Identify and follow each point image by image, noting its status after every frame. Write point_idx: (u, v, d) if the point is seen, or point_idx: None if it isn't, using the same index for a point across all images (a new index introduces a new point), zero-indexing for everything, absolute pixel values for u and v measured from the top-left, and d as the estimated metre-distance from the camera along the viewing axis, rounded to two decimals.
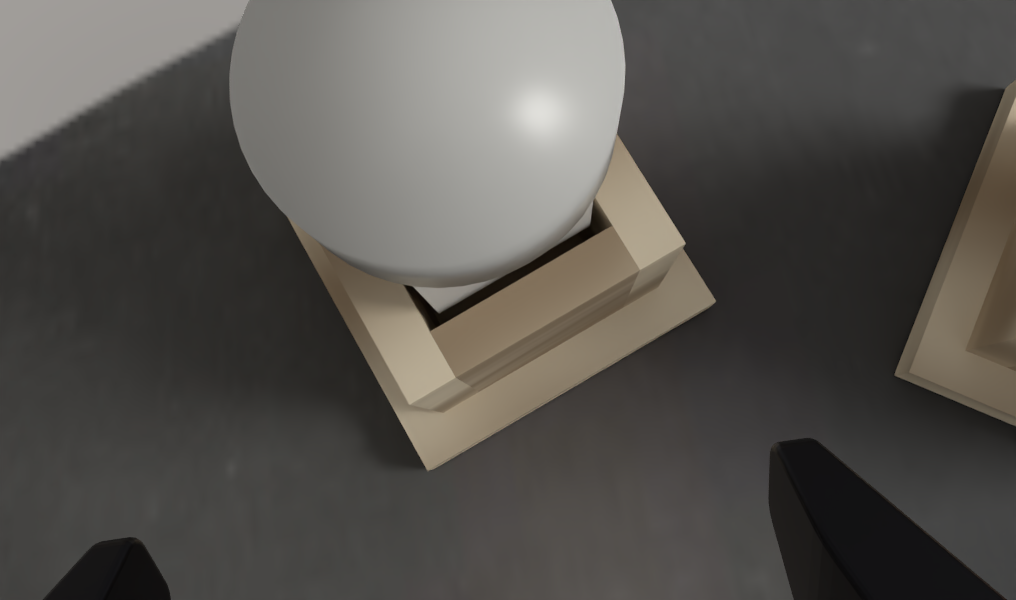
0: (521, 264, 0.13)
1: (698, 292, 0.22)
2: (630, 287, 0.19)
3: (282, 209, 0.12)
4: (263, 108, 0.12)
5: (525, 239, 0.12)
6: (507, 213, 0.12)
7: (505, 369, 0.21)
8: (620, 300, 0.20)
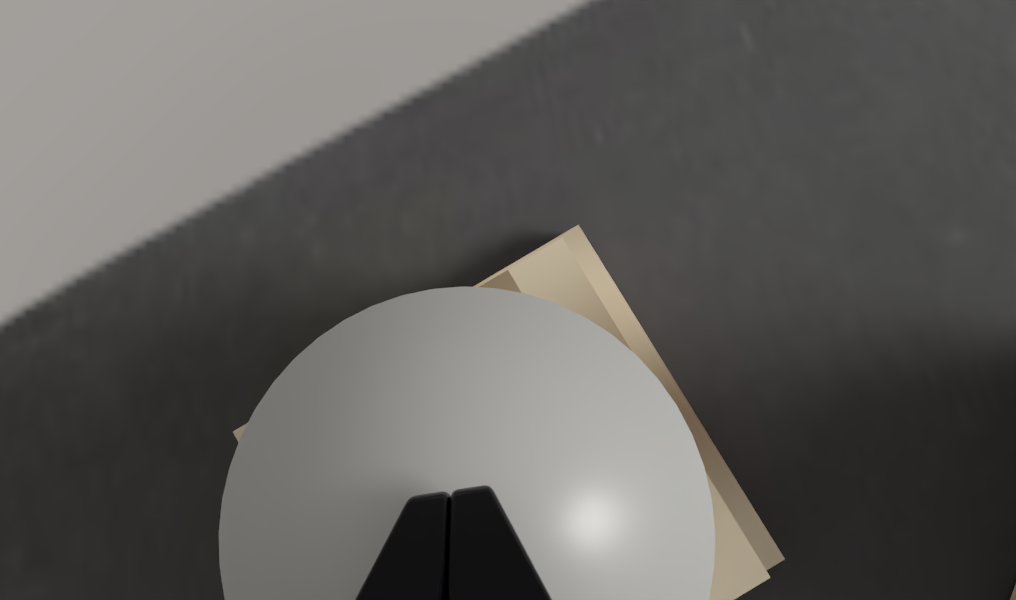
0: None
1: (763, 547, 0.19)
2: None
3: None
4: (261, 577, 0.10)
5: None
6: None
7: None
8: None
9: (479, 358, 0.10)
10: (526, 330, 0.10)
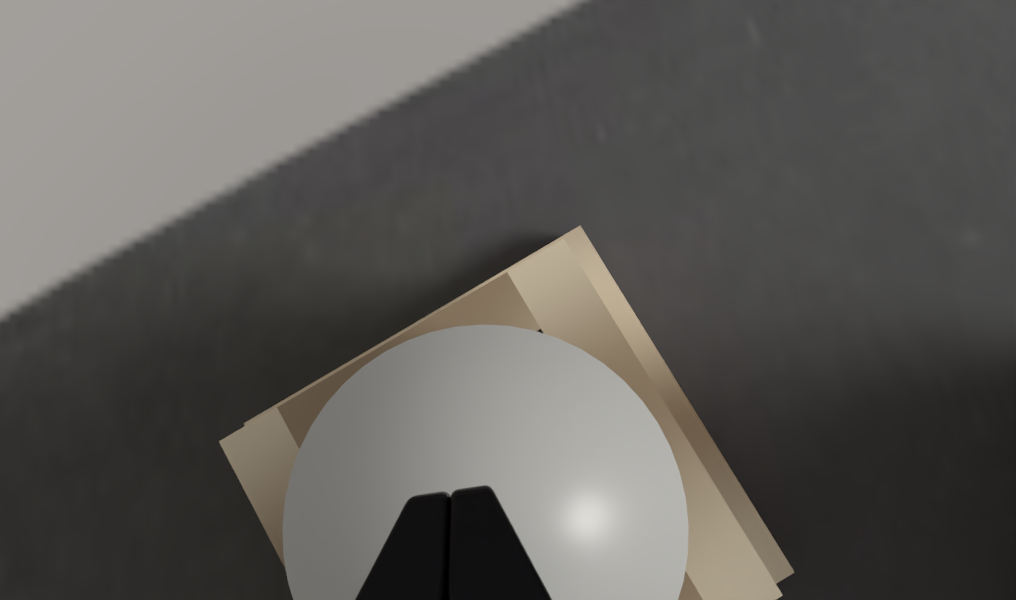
0: None
1: (772, 560, 0.18)
2: None
3: None
4: (318, 563, 0.12)
5: None
6: None
7: None
8: None
9: (496, 384, 0.12)
10: (534, 361, 0.12)
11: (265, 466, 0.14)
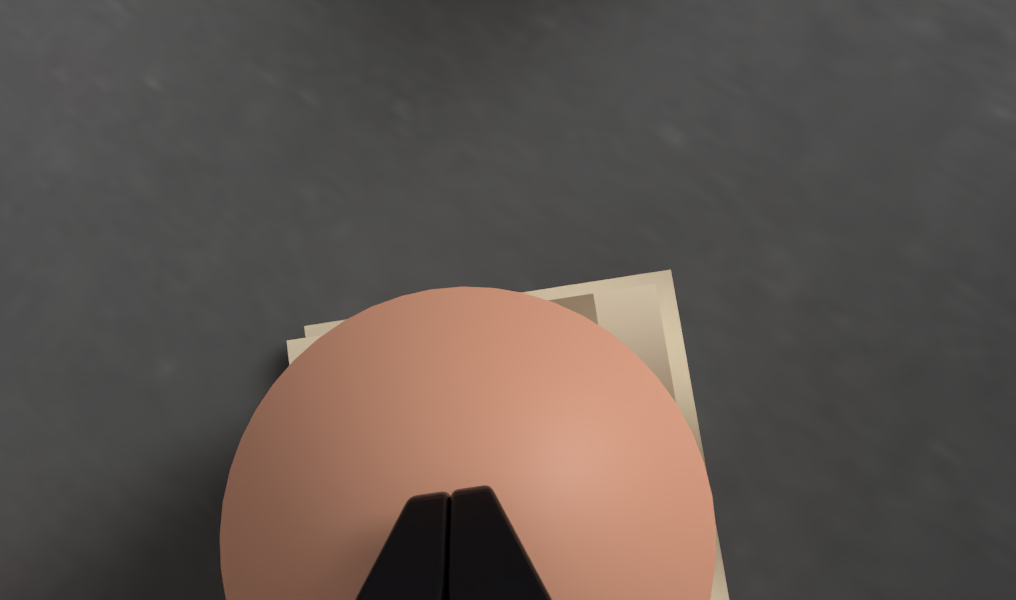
0: None
1: None
2: None
3: None
4: None
5: None
6: None
7: None
8: None
9: None
10: None
11: None
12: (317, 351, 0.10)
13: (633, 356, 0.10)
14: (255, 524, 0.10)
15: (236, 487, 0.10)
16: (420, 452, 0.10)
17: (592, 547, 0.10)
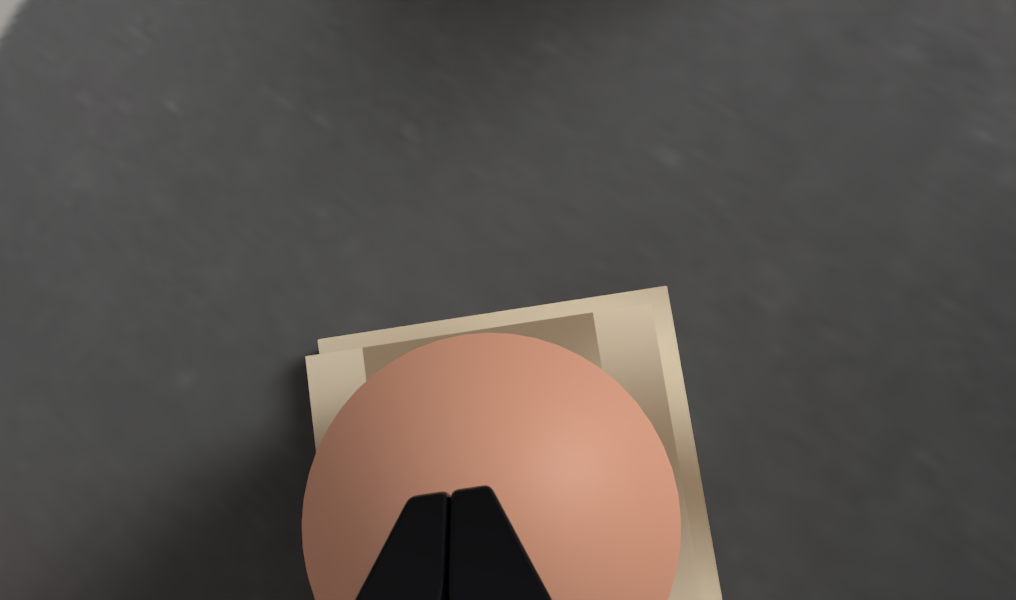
0: None
1: None
2: None
3: None
4: None
5: None
6: None
7: None
8: None
9: None
10: None
11: None
12: (375, 382, 0.13)
13: (618, 387, 0.13)
14: (329, 515, 0.13)
15: (314, 487, 0.13)
16: (455, 460, 0.13)
17: (587, 533, 0.13)
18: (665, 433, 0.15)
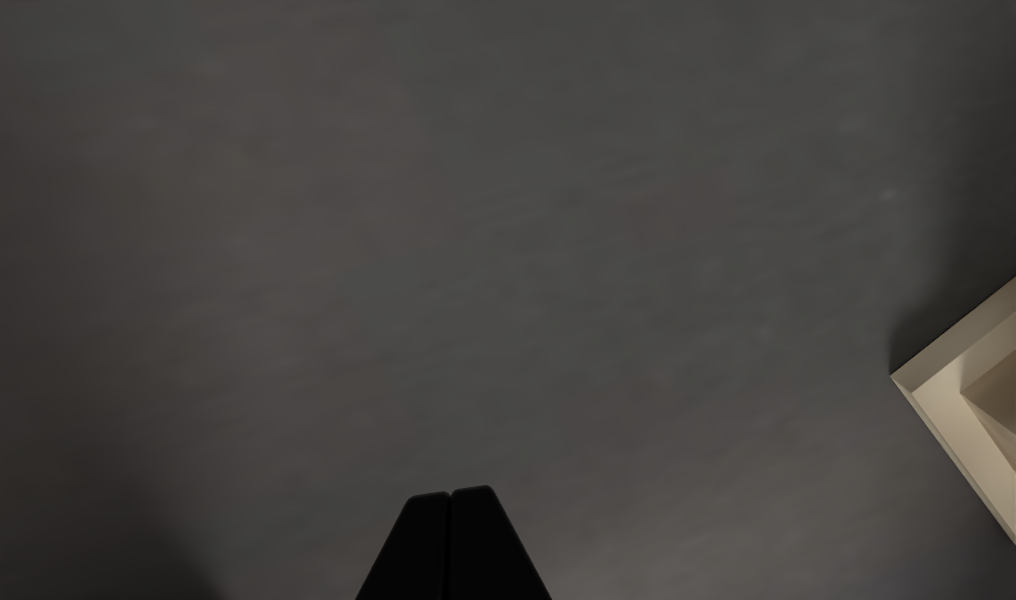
0: None
1: None
2: None
3: None
4: None
5: None
6: None
7: None
8: None
9: None
10: None
11: None
12: None
13: None
14: None
15: None
16: None
17: None
18: None
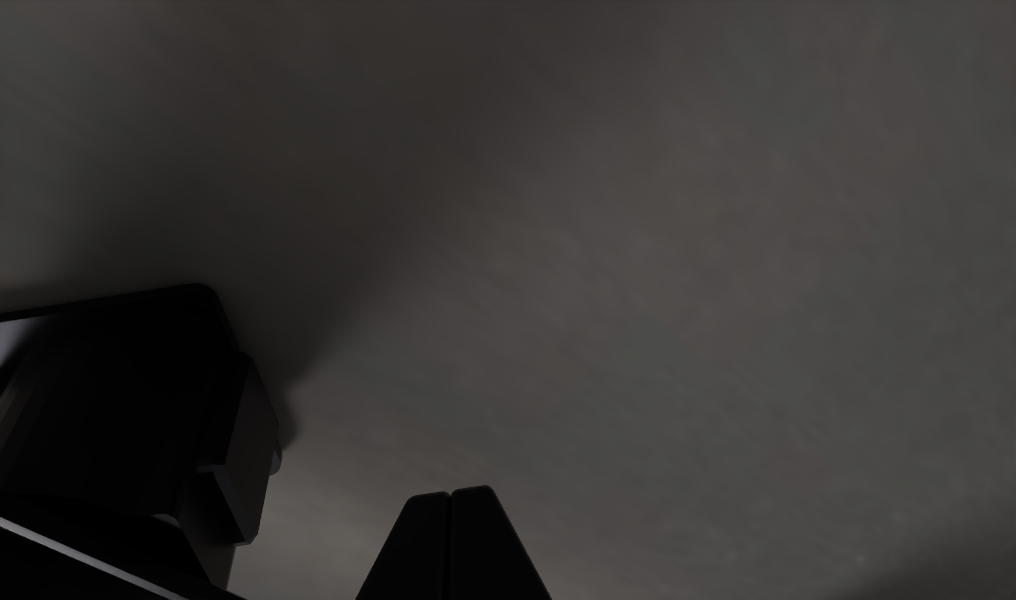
0: None
1: None
2: None
3: None
4: None
5: None
6: None
7: None
8: None
9: None
10: None
11: None
12: None
13: None
14: None
15: None
16: None
17: None
18: None
